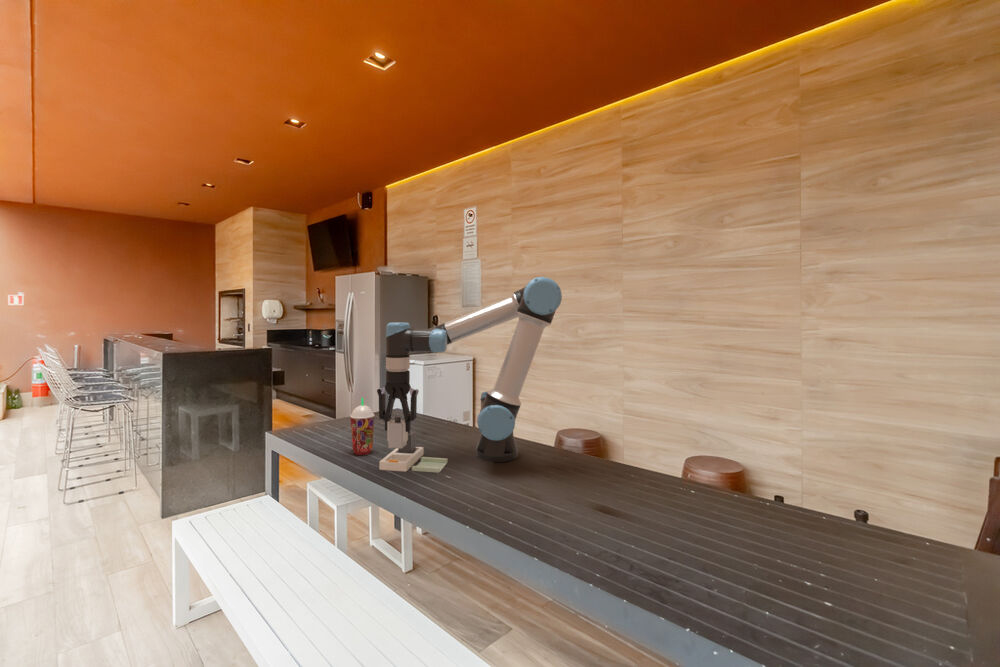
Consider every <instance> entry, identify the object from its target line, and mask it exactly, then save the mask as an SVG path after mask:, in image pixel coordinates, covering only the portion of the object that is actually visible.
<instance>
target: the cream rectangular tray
mask: <svg viewBox="0 0 1000 667" xmlns="http://www.w3.org/2000/svg"><path fill="white" fill-rule="evenodd" d="M416 436H417V434H416V431H411V430H410V431H409V432H408V441H407V445H405V446H404V447H403V448H402V449H401V448H394V450H392V451H391V452H390V453H388V454H387V455H386V456H384V457H383V458H382V459H381V460H380V461H378V462H379V465H378V466H379V470H381V471H394V472H407V471H409V470H410V469H411V468H412V466H414V465H415V464H416V463H417V462H418V461H419V460H421V457H424V454H425V453H424V451H425V450H424V448H425V447H424V446H423V447H422V446H416V445H417V444H416V442H417V441H416Z"/></svg>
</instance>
